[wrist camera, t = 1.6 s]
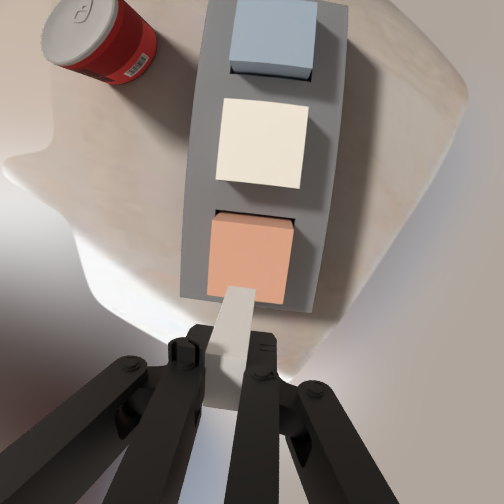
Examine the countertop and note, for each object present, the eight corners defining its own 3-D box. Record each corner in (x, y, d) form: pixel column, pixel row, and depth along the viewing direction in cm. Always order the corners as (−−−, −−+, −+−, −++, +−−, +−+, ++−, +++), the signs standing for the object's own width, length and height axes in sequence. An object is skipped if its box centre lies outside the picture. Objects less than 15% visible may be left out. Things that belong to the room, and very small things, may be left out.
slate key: (243, 19, 23) (238, -5, 18) (310, 25, 23) (317, 2, 18) (236, 76, 25) (228, 60, 20) (305, 83, 25) (312, 68, 20)
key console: (220, 17, 26) (210, -8, 21) (336, 29, 26) (348, 5, 20) (194, 274, 34) (180, 296, 29) (305, 287, 34) (311, 313, 28)
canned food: (164, 19, 27) (123, -26, 16) (154, 83, 29) (104, 56, 18) (103, 27, 27) (51, -5, 16) (93, 89, 29) (32, 72, 19)
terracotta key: (222, 209, 28) (212, 220, 23) (290, 217, 28) (293, 229, 23) (217, 273, 30) (206, 294, 25) (281, 280, 30) (282, 304, 25)
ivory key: (232, 108, 26) (224, 98, 21) (302, 115, 25) (308, 106, 21) (225, 175, 27) (215, 179, 23) (294, 183, 27) (299, 188, 22)
